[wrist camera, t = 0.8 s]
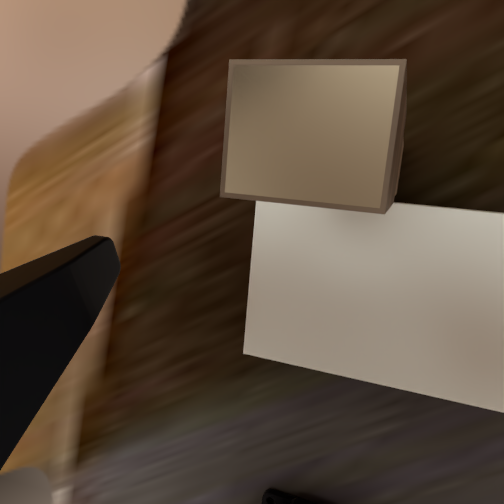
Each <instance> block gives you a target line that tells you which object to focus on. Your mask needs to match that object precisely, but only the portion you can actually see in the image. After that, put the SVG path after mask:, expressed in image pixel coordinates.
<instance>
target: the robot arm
mask: <svg viewBox="0 0 504 504" xmlns="http://www.w3.org/2000/svg"><path fill="white" fill-rule="evenodd" d="M119 273H120V261H119V258H118V255H117V252H116V249H115V246H114V243H113V241H112V240H111V239H110V238H109V237H104V236H96V235H95V236H91V237H89V238H86V239H84V240H81V241H79V242H77V243H74V244H72V245H69V246H67V247H64V248H62V249H60V250H57V251H55V252H52V253H50V254H47V255H45V256H43V257H40V258H38V259H35V260H33V261H30V262H28V263H26V264H23V265H21V266H18V267H16V268H13V269H11V270H9V271H6V272H4V273H1V274H0V470H1V468H2V467H3V465H4V464H5V462H6V461H7V459H8V457H9V456H10V454H11V453H12V451H13V450H14V448H15V446H16V445H17V443H18V442H19V440H20V439H21V437H22V436H23V434H24V432H25V431H26V429H27V428H28V426H29V425H30V423H31V421H32V420H33V418H34V417H35V415H36V414H37V412H38V411H39V409H40V407H41V406H42V404H43V403H44V401H45V400H46V398H47V396H48V395H49V393H50V392H51V390H52V389H53V387H54V386H55V384H56V382H57V381H58V379H59V378H60V376H61V375H62V373H63V371H64V370H65V368H66V367H67V365H68V364H69V362H70V361H71V359H72V357H73V356H74V354H75V353H76V351H77V350H78V348H79V346H80V345H81V343H82V342H83V340H84V339H85V337H86V336H87V334H88V332H89V331H90V329H91V327H92V326H93V324H94V322H95V320H96V319H97V317H98V315H99V313H100V311H101V309H102V307H103V305H104V303H105V301H106V299H107V297H108V295H109V293H110V291H111V289H112V287H113V285H114V283H115V281H116V279H117V277H118V275H119ZM268 497H271V498H272V499H273V500H270V499H269V498H268ZM262 504H316V503H313V502H310V501H307V500H304V499H300V498H297V497H294V496H291V495H288V494H285V493H282V492H279V491H276V490H273V489H268V490H266V491H265V493H264V495H263V498H262Z"/></svg>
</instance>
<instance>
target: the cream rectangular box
mask: <svg viewBox="0 0 504 504" xmlns="http://www.w3.org/2000/svg"><path fill="white" fill-rule="evenodd" d="M243 354H247V355H252V356H256V357H261V358H265V359H270V360H274V361H278V362H283V363H287V364H292V365H296V366H300V367H305V368H309V369H314V370H318V371H322V372H327V373H331V374H336V375H340V376H344V377H349V378H353V379H358V380H362V381H366V382H371V383H375V384H380V385H384V386H388V387H393V388H397V389H402V390H406V391H410V392H415V393H419V394H424V395H428V396H432V397H437V398H441V399H446V400H450V401H454V402H459V403H463V404H468V405H472V406H477V407H481V408H485V409H490V410H494V411H499V412H503V413H504V213H501V212H491V211H481V210H471V209H460V208H450V207H440V206H429V205H419V204H409V203H399V202H394V203H393V204H392V206H391V207H390V208H389V210H388V211H387V212H386V214H376V213H366V212H357V211H348V210H338V209H329V208H320V207H310V206H301V205H291V204H282V203H273V202H263V201H256V209H255V221H254V233H253V244H252V256H251V268H250V279H249V291H248V303H247V314H246V326H245V338H244V349H243Z"/></svg>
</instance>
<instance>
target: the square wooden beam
mask: <svg viewBox="0 0 504 504" xmlns="http://www.w3.org/2000/svg"><path fill="white" fill-rule="evenodd" d="M406 89H407V59H258V60H229V73H228V88H227V102H226V116H225V130H224V144H223V158H222V173H221V187H220V197H226V198H235V199H245V200H254V201H263V202H273V203H282V204H291V205H301V206H310V207H320V208H329V209H338V210H348V211H357V212H366V213H376V214H386V212H387V211H388V210H389V208H390V207H391V206H392V204H393V203H394V198H395V195H396V194H397V189H398V182H399V175H400V168H401V161H402V154H403V147H404V140H403V135H404V128H405V121H406Z"/></svg>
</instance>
